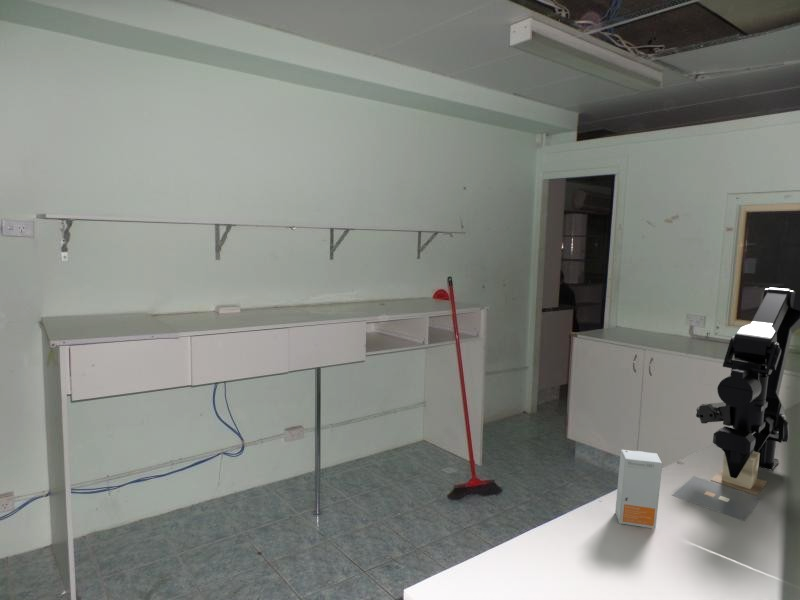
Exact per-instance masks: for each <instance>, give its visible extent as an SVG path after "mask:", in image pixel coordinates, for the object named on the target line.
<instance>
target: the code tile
mask: <svg viewBox="0 0 800 600" xmlns="http://www.w3.org/2000/svg"><path fill="white" fill-rule="evenodd" d="M671 496H673V497H676V498H678V499H681V500H684V501H686V502H690V503H692V504H695V505H698V506H702V507H704V508H707V509H710V510H712V511H715V512H718V513H719V514H720V513H721V514H724V515H725V516H726V515H727V516H728V517H731V518H734V519H738V520H740V521H743V522H745V521H746V520H747V518H749V516H750V514H751V513H752V512H753V511H754V509H755V508H756V507H757V506H758V504H759V503H760V502H761V500H763V497H760V496H758V495H754V494H751V493H748V492H745V491H742V490H739V489H736V488H733V487H729V486H726V485H723V484H720V483H717V482H714V481H711V480H708V479H704V478H701V477H698V476H696V475H693V476H691V478H690V479H688V481H686V482H685V483H684V484H682V486H681V487H679V488H678V489H677V490H676V491H675V492H673V494H671Z"/></svg>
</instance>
